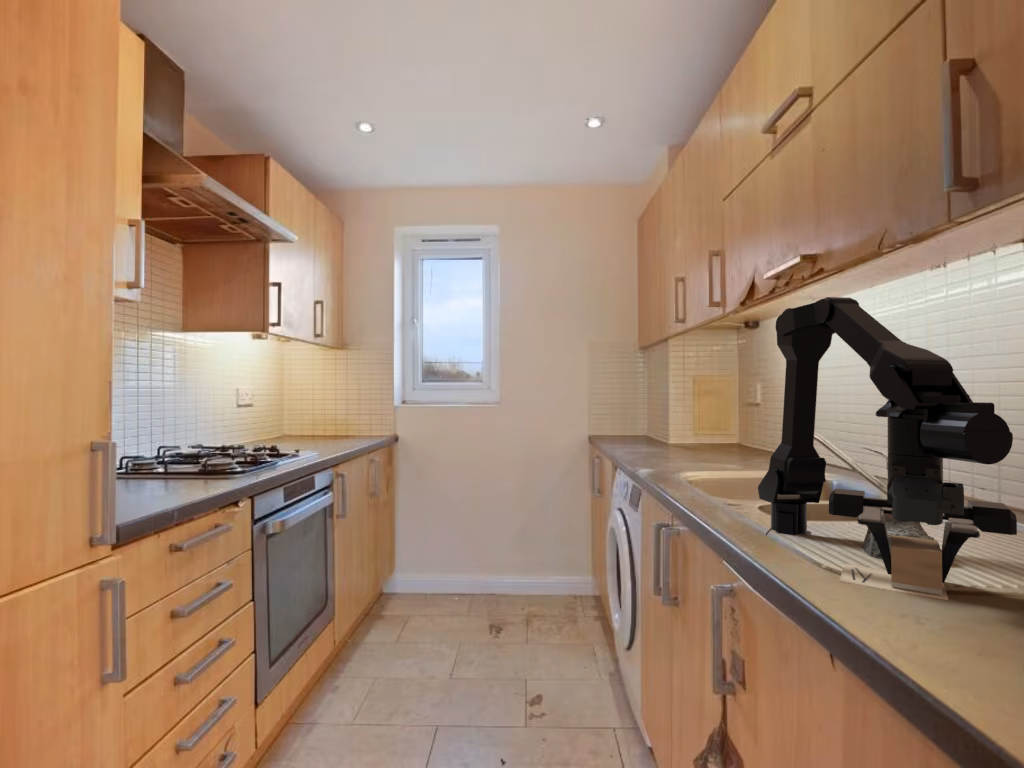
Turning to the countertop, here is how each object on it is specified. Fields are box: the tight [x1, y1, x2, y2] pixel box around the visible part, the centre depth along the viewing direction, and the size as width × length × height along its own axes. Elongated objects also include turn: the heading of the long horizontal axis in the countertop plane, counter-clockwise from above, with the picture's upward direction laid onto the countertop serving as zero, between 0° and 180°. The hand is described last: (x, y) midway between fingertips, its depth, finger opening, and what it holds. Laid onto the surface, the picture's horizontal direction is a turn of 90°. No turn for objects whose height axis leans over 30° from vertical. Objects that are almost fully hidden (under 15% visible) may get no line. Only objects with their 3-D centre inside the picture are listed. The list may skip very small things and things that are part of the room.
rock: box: [861, 513, 935, 561], centre depth 85 cm, size 13×9×6 cm, turn 167°
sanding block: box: [891, 535, 942, 595], centre depth 71 cm, size 7×5×5 cm
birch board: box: [839, 563, 949, 601], centre depth 72 cm, size 9×11×1 cm
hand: (915, 577), depth 71 cm, fingers closed on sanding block, 5 cm apart
